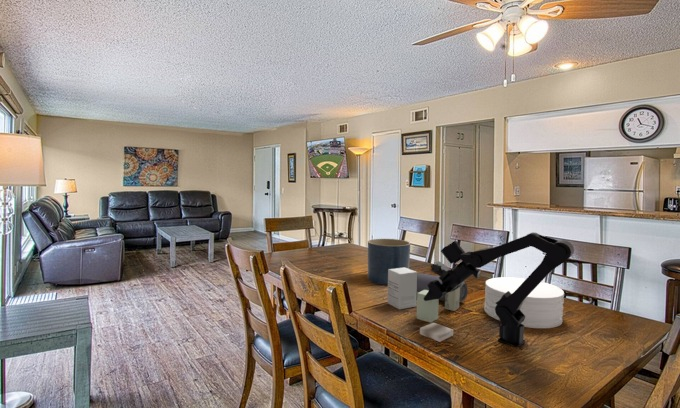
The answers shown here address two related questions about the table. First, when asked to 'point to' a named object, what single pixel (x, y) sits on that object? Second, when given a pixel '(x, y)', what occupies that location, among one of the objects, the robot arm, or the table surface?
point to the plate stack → (528, 301)
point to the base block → (436, 332)
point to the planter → (386, 258)
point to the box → (452, 300)
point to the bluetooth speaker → (426, 279)
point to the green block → (426, 307)
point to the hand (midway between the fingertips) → (429, 297)
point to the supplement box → (402, 288)
